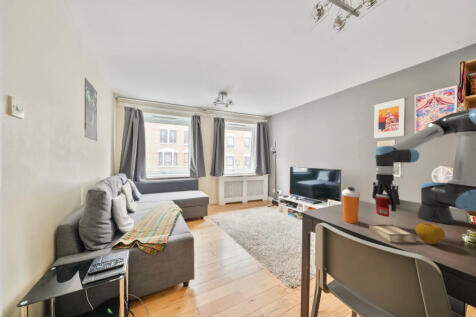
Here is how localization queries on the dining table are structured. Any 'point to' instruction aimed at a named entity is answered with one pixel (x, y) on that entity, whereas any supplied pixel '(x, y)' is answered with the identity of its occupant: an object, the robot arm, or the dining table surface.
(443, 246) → the dining table surface
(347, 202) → the shaker bottle
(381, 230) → the dock
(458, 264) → the dining table surface
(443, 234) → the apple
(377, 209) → the canned food
